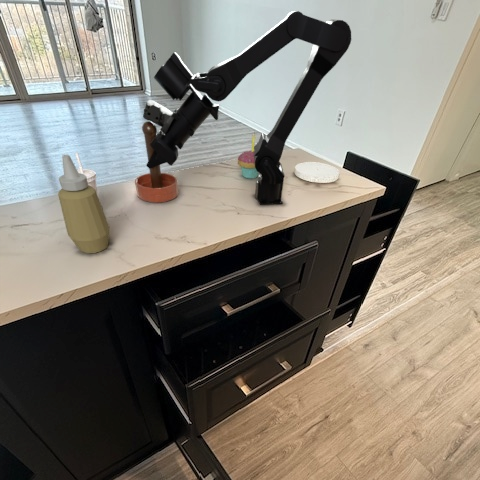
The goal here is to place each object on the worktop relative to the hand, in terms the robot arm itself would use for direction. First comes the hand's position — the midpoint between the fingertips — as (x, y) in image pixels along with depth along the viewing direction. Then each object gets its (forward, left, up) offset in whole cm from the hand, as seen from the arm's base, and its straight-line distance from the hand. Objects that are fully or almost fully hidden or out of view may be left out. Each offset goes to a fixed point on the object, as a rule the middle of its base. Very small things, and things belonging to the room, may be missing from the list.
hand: (149, 164), depth 82 cm
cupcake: (-30, -12, -8) cm, 33 cm away
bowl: (-1, 0, -8) cm, 8 cm away
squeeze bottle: (+13, +25, -8) cm, 30 cm away
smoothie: (+15, +10, -8) cm, 20 cm away
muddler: (-1, 0, -7) cm, 7 cm away
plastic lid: (-51, -9, -8) cm, 53 cm away
